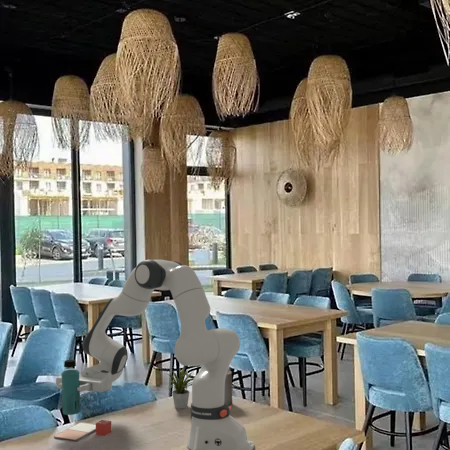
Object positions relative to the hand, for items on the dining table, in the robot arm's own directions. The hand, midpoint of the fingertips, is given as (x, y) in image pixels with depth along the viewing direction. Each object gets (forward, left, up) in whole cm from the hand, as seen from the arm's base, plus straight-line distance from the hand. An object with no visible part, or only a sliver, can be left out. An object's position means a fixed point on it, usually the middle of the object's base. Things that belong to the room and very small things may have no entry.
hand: (69, 388), depth 209 cm
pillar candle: (-35, -55, -18) cm, 67 cm away
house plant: (-21, -45, -18) cm, 53 cm away
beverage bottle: (0, -1, -10) cm, 11 cm away
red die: (-9, -8, -17) cm, 21 cm away
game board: (0, -6, -17) cm, 18 cm away
